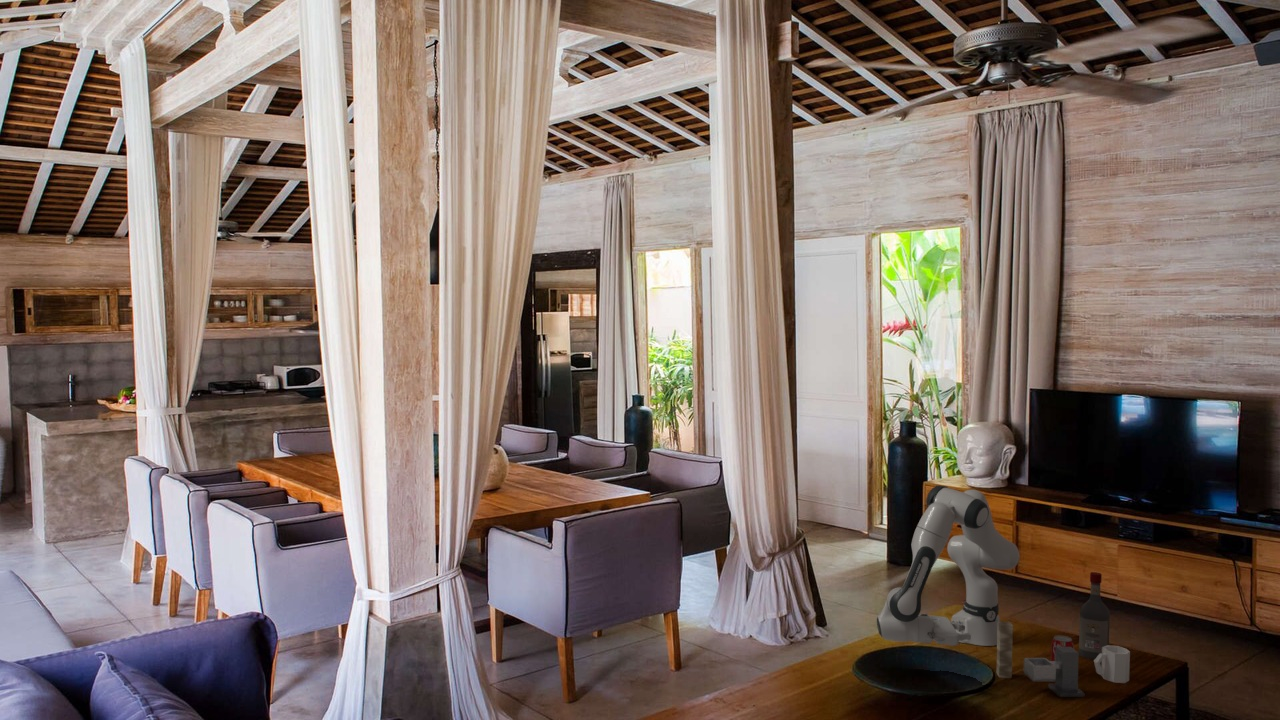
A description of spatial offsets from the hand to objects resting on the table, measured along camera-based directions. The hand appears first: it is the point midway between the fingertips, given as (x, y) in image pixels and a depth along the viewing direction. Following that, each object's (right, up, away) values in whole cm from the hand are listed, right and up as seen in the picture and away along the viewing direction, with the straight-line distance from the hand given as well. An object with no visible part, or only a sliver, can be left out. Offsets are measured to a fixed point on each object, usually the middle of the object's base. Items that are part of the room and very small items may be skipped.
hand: (967, 632), depth 322 cm
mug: (+47, -15, -3) cm, 50 cm away
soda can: (+33, -15, +2) cm, 36 cm away
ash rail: (+12, -15, -1) cm, 19 cm away
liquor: (+52, -14, +18) cm, 56 cm away
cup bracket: (+23, -15, -14) cm, 31 cm away
